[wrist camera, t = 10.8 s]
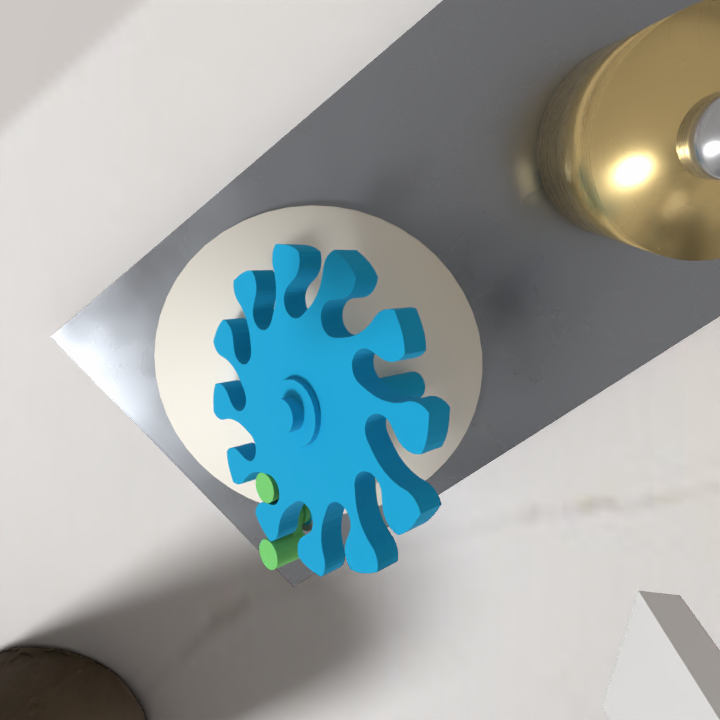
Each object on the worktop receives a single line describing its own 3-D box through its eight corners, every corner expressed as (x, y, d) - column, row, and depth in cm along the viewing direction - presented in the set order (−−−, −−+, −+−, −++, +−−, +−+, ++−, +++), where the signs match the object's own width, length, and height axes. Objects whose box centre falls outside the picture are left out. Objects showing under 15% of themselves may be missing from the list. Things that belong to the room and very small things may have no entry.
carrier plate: (678, -195, 17) (898, -450, 10) (867, 201, 20) (1130, 222, 13) (67, 327, 22) (-73, 403, 15) (297, 567, 26) (269, 719, 19)
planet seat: (510, 226, 20) (512, 227, 19) (452, 525, 23) (453, 529, 23) (156, 185, 19) (153, 185, 19) (157, 494, 23) (155, 497, 23)
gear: (226, 187, 17) (475, 358, 12) (366, 201, 21) (601, 332, 16) (174, 468, 22) (331, 685, 17) (295, 436, 26) (455, 601, 21)
